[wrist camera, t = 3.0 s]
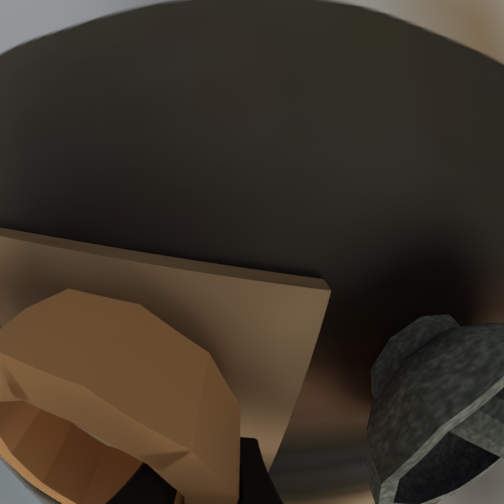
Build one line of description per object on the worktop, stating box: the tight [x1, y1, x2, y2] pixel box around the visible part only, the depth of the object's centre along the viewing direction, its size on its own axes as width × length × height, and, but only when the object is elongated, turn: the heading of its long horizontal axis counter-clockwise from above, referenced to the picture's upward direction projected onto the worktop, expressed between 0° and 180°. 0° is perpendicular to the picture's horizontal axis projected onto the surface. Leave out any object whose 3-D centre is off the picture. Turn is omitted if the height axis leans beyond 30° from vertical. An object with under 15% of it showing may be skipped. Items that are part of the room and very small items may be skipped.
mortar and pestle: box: [367, 314, 504, 504], centre depth 8 cm, size 11×9×12 cm
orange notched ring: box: [0, 289, 241, 504], centre depth 8 cm, size 10×10×4 cm
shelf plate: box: [0, 228, 331, 472], centre depth 12 cm, size 22×16×5 cm
